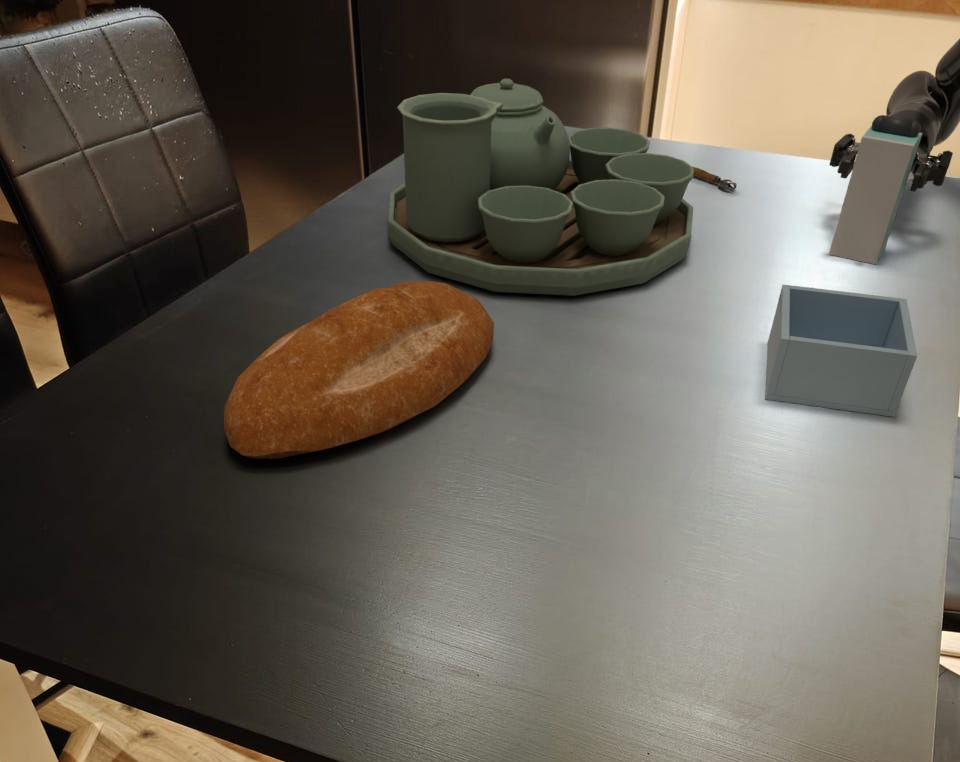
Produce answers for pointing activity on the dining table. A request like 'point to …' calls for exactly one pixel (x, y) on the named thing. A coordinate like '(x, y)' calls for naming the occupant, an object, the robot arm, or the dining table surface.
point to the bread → (358, 370)
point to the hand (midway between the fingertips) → (879, 176)
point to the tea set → (533, 197)
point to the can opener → (713, 179)
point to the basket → (840, 350)
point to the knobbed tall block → (876, 188)
